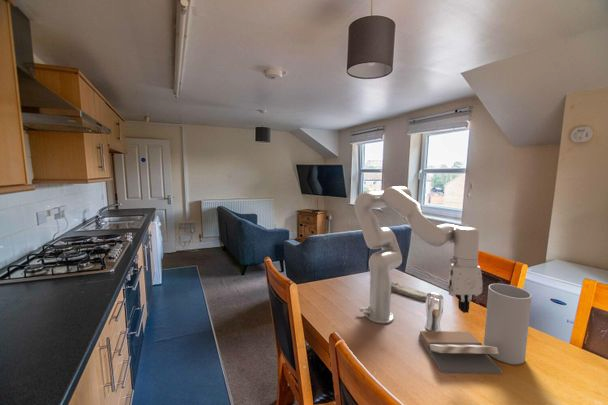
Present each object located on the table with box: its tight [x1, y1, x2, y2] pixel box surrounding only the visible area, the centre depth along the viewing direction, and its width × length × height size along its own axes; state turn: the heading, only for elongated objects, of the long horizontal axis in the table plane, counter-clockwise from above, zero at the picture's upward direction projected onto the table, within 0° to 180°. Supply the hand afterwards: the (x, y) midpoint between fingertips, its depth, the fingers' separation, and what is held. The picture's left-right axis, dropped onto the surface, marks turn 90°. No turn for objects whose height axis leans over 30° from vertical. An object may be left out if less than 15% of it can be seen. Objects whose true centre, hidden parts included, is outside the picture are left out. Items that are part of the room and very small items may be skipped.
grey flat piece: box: [418, 330, 502, 374], centre depth 100 cm, size 20×19×4 cm
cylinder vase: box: [483, 283, 533, 365], centre depth 99 cm, size 12×12×25 cm
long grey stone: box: [391, 280, 428, 302], centre depth 153 cm, size 35×5×10 cm
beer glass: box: [425, 292, 444, 331], centre depth 115 cm, size 7×7×15 cm
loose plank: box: [430, 344, 499, 355], centre depth 96 cm, size 20×8×2 cm, turn 89°
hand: (463, 310), depth 96 cm, fingers closed
